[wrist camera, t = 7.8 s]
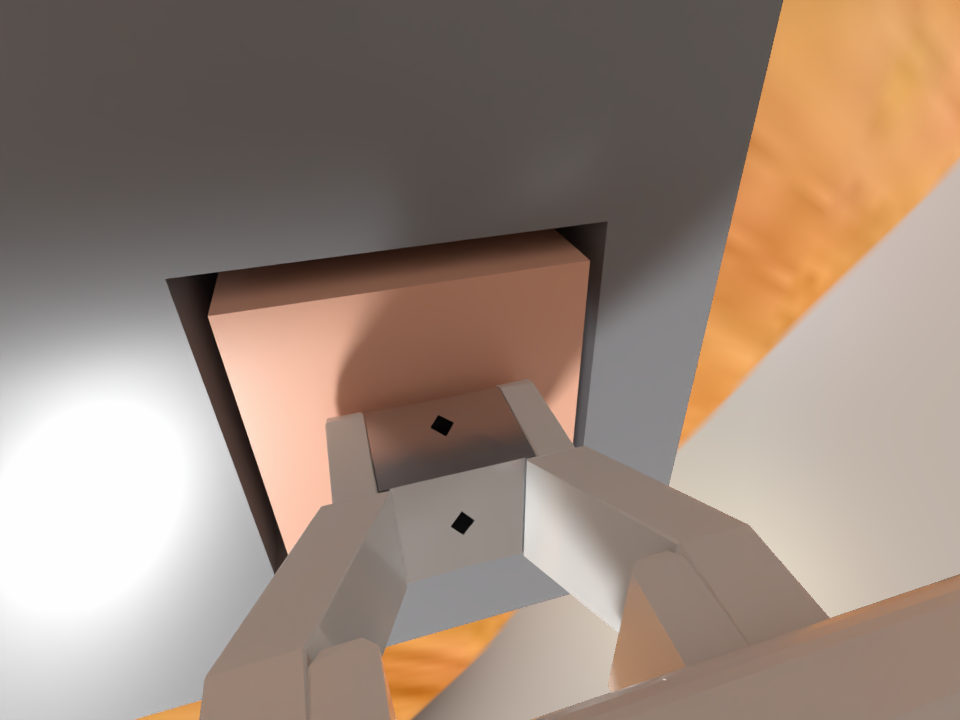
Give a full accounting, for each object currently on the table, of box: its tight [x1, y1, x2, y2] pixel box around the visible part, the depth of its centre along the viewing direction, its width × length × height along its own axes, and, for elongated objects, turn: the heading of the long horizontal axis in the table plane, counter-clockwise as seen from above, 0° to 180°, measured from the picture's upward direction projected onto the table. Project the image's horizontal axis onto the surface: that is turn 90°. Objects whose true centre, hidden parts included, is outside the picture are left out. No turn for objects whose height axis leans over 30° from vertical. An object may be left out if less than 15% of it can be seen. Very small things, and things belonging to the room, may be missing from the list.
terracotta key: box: [208, 228, 590, 554], centre depth 10 cm, size 5×5×3 cm
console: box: [0, 0, 783, 720], centre depth 10 cm, size 12×21×5 cm, turn 91°
